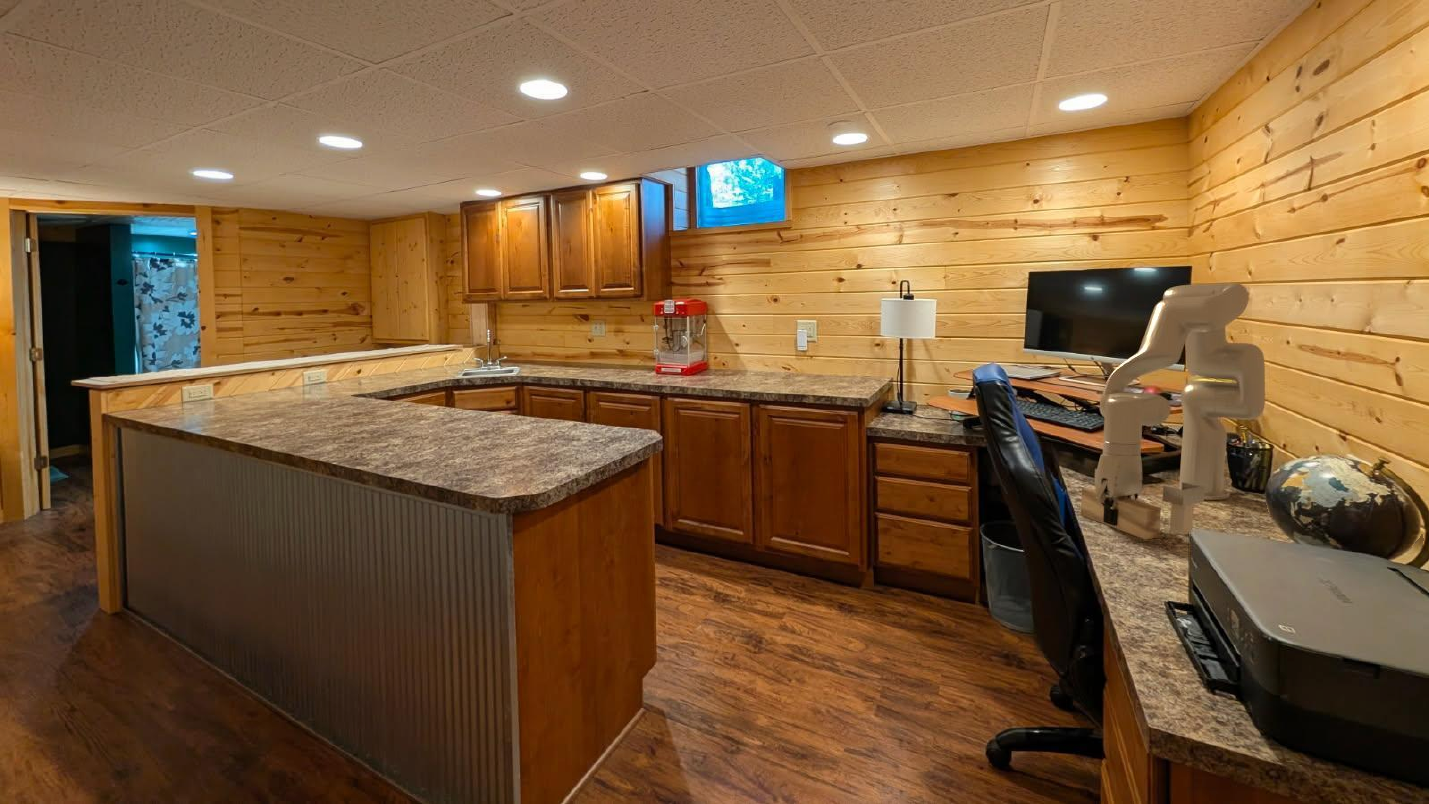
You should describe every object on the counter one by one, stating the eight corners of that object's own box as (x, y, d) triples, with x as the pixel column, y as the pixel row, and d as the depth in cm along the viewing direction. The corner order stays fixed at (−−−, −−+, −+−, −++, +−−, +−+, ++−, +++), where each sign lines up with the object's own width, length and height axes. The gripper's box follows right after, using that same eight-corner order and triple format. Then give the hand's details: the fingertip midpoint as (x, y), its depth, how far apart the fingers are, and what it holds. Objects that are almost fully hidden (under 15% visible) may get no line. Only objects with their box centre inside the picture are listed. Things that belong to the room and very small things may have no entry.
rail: (1093, 513, 158) (1094, 487, 157) (1159, 537, 141) (1160, 507, 140) (1080, 515, 158) (1081, 488, 157) (1144, 539, 140) (1146, 509, 139)
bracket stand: (1112, 506, 164) (1114, 465, 162) (1201, 532, 143) (1204, 486, 141) (1093, 509, 162) (1095, 468, 160) (1180, 537, 141) (1184, 490, 139)
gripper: (1132, 442, 153) (1128, 512, 155) (1081, 449, 147) (1078, 522, 150) (1162, 447, 146) (1158, 521, 148) (1110, 456, 140) (1106, 532, 143)
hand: (1117, 521), depth 149 cm, fingers closed on rail, 4 cm apart
